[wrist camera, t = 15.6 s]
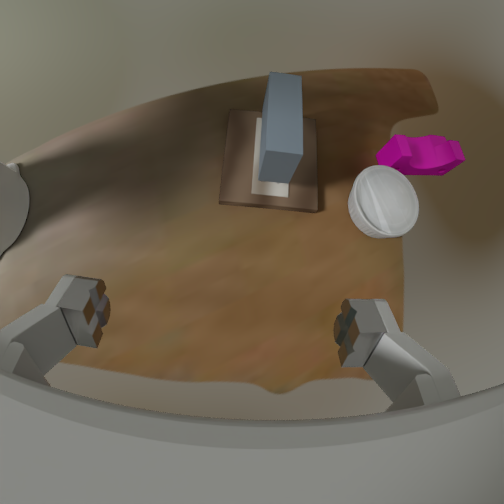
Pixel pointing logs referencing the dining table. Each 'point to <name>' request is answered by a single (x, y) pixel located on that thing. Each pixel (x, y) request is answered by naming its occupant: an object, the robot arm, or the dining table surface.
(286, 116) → the slate block
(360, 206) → the ramekin
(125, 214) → the dining table surface
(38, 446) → the robot arm
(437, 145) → the toy block
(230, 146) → the peg stand
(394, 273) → the dining table surface
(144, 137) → the dining table surface
